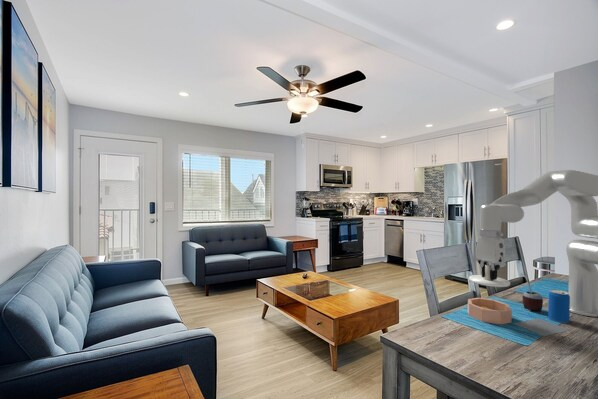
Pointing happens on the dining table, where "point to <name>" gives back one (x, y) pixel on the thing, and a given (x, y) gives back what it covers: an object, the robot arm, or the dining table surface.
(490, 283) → the lid
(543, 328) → the mat
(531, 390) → the dining table surface
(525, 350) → the dining table surface
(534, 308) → the mate gourd
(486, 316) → the octagonal ring frame
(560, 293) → the beverage can
